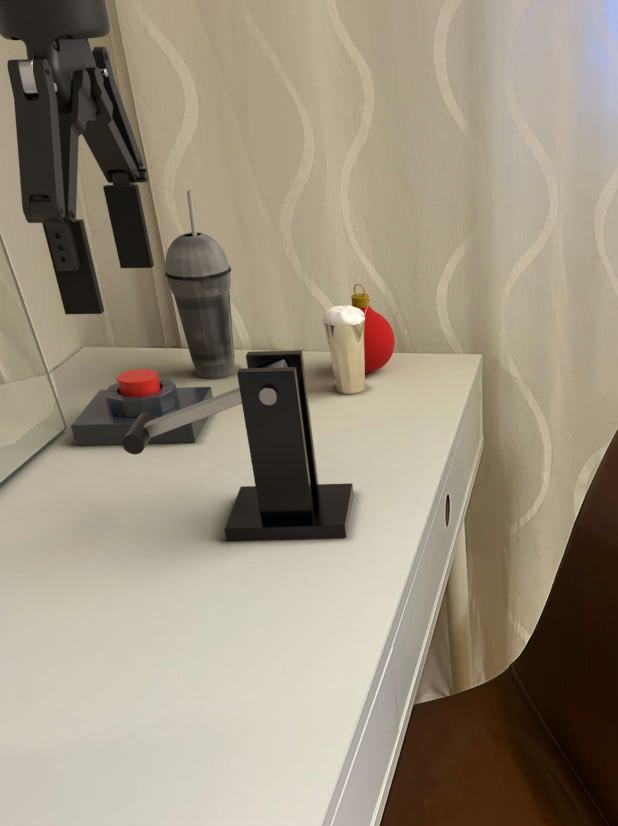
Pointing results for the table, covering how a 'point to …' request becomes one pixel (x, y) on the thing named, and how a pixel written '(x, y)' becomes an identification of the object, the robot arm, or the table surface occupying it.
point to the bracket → (283, 459)
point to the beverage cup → (202, 299)
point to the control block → (137, 414)
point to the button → (138, 382)
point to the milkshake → (346, 346)
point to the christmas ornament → (374, 334)
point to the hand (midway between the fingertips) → (113, 288)
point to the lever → (180, 417)
